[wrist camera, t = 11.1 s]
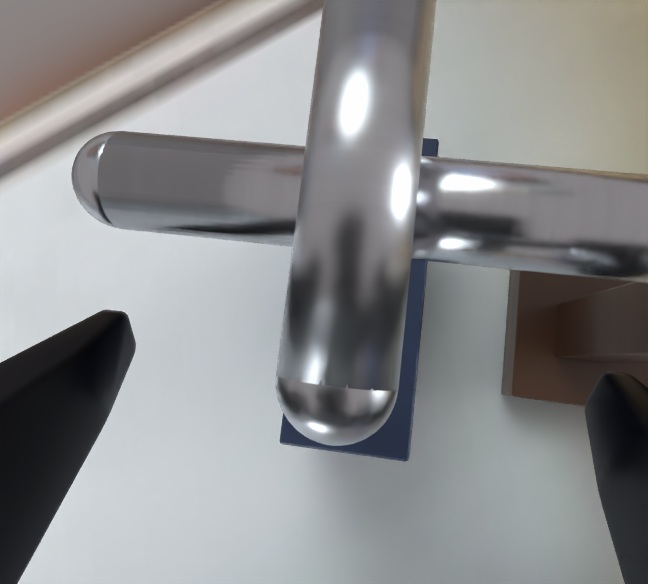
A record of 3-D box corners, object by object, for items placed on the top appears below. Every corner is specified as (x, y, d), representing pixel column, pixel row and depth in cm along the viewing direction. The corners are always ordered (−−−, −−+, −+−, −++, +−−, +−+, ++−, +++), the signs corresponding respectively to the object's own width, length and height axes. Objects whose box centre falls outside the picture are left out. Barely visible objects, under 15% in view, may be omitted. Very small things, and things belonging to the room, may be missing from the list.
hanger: (399, 440, 15) (543, 787, 3) (294, 425, 15) (67, 689, 4) (425, 177, 16) (607, -313, 4) (325, 168, 16) (231, -308, 4)
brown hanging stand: (629, 410, 16) (1644, 598, 3) (259, 362, 17) (-19, 367, 5) (634, 276, 17) (1498, 9, 4) (276, 239, 18) (75, -52, 5)
